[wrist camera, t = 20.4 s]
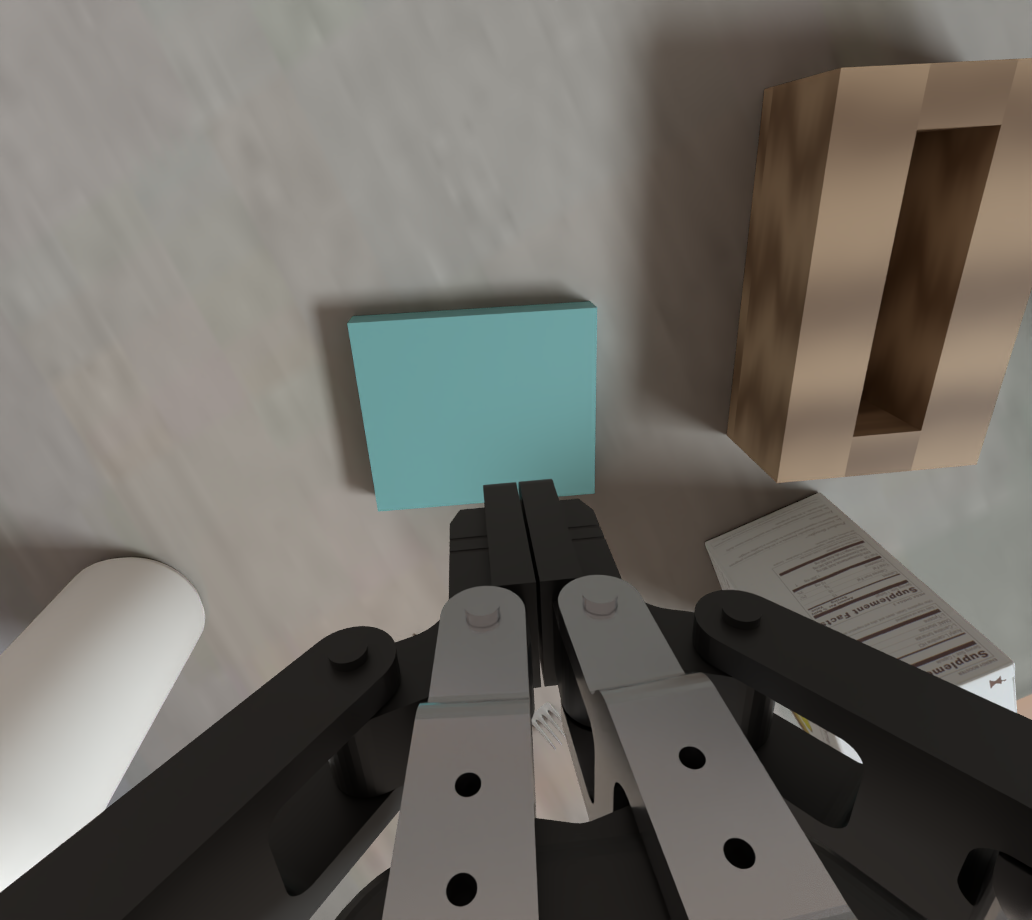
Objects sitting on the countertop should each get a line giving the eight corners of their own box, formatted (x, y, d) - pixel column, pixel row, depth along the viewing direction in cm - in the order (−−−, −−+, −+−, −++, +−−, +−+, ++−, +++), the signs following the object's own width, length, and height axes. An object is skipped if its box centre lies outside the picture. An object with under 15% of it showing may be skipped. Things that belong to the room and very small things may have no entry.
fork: (427, 621, 45) (426, 639, 43) (571, 714, 51) (576, 734, 49) (405, 641, 46) (403, 660, 44) (550, 731, 52) (553, 751, 50)
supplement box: (700, 540, 44) (829, 732, 29) (820, 487, 43) (1019, 657, 28) (736, 628, 48) (866, 837, 33) (846, 582, 47) (1032, 775, 32)
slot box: (764, 88, 32) (841, 67, 25) (978, 77, 32) (1105, 54, 26) (726, 435, 40) (777, 483, 34) (896, 420, 41) (976, 464, 35)
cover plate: (588, 299, 36) (354, 314, 35) (597, 307, 34) (347, 323, 33) (586, 476, 41) (382, 492, 40) (594, 493, 39) (378, 511, 38)
